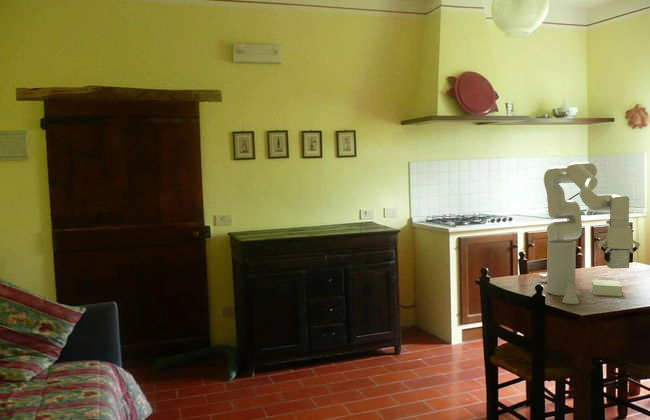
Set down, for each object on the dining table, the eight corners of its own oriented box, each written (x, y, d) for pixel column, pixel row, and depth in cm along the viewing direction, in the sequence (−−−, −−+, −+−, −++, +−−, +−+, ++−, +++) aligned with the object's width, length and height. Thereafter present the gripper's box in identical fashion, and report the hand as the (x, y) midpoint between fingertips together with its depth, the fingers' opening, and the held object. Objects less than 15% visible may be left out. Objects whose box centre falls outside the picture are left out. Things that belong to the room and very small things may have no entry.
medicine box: (624, 266, 256) (624, 247, 255) (629, 268, 252) (630, 249, 251) (606, 266, 256) (607, 248, 255) (612, 268, 252) (612, 249, 251)
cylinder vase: (550, 296, 266) (551, 243, 264) (544, 290, 279) (544, 239, 276) (578, 296, 265) (579, 243, 262) (570, 290, 277) (571, 239, 275)
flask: (564, 300, 259) (564, 278, 258) (581, 302, 254) (581, 280, 254) (559, 303, 253) (559, 281, 253) (576, 305, 249) (577, 283, 248)
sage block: (593, 295, 267) (593, 284, 267) (591, 289, 278) (591, 279, 278) (621, 296, 263) (622, 286, 263) (619, 291, 274) (619, 280, 274)
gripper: (600, 224, 250) (599, 262, 252) (643, 224, 246) (642, 263, 248) (596, 222, 258) (595, 259, 259) (638, 222, 254) (637, 260, 255)
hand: (618, 261), depth 254 cm, fingers closed on medicine box, 8 cm apart
